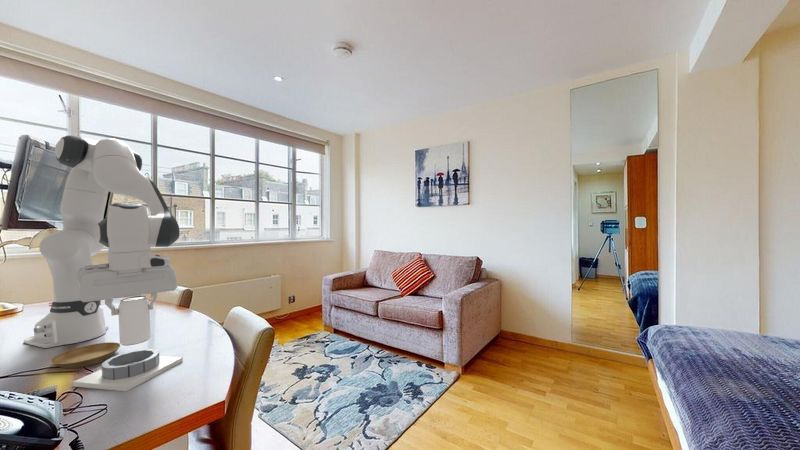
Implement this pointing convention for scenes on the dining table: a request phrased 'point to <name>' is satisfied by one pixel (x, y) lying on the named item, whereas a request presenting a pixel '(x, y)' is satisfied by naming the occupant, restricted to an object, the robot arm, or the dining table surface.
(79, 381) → the housing base
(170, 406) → the dining table surface
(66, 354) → the plant saucer
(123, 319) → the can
